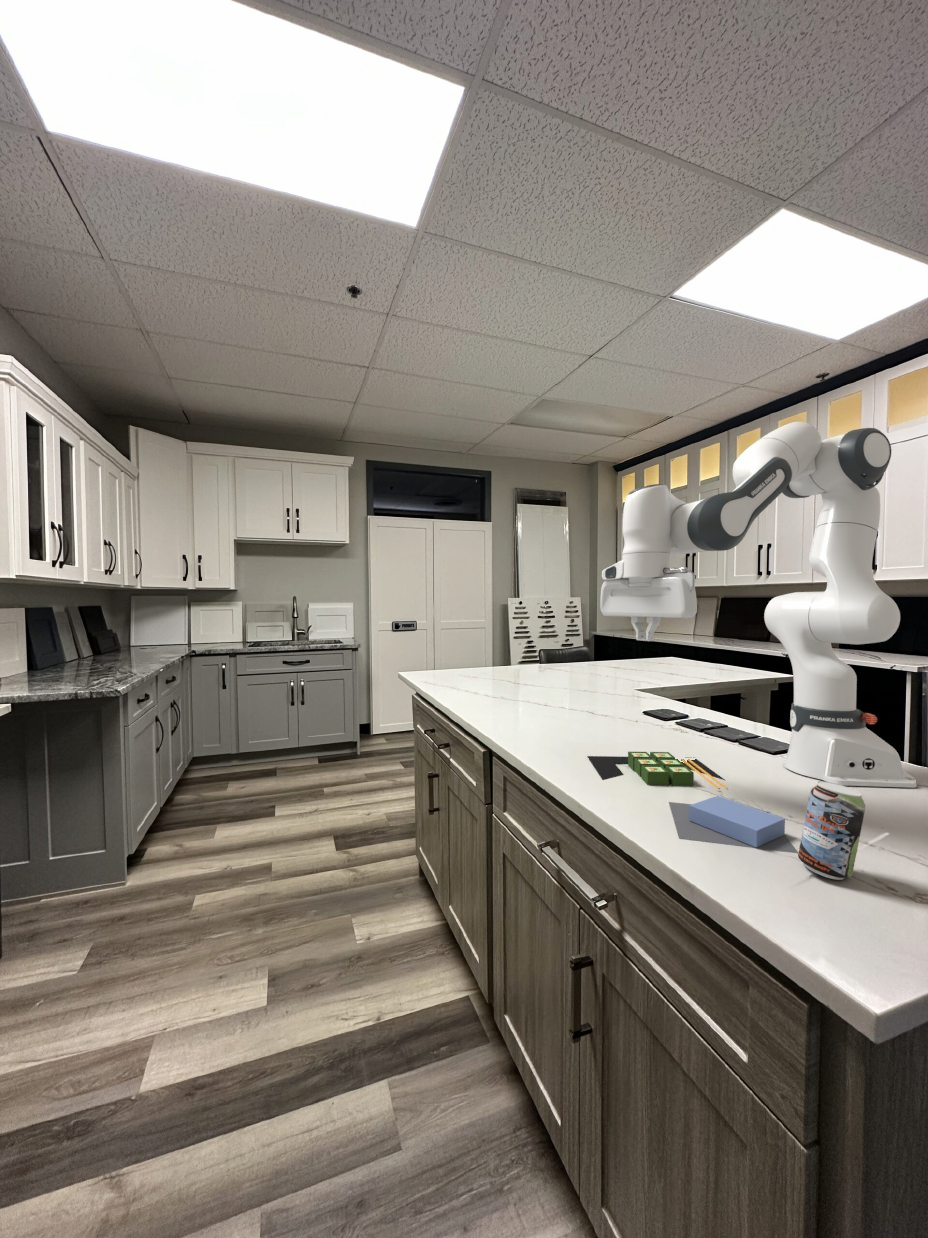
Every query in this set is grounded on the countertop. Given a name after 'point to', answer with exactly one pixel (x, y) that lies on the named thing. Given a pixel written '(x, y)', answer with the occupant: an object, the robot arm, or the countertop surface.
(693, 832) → the rubber mat
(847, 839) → the beverage can
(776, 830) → the card deck
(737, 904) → the countertop surface
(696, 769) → the sushi
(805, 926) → the countertop surface
